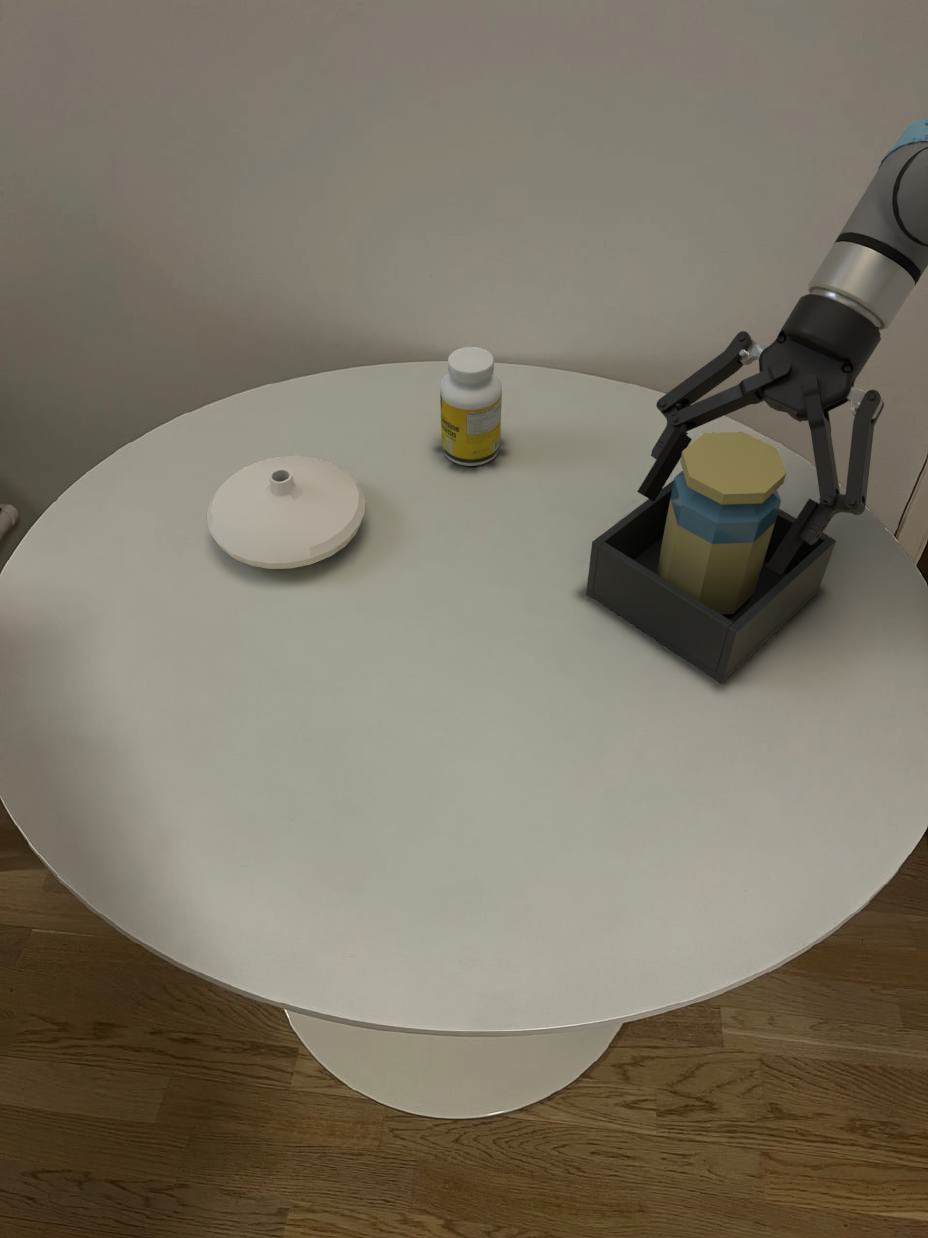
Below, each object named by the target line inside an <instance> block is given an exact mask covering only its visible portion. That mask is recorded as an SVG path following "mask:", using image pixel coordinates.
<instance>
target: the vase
mask: <svg viewBox="0 0 928 1238" xmlns="http://www.w3.org/2000/svg"><path fill="white" fill-rule="evenodd" d="M365 513H366V497H365V493H364V491H363V488H362V485H361V484H360V483H359V482H358V481H357V479H356V478H355V477H354V476H353V475H352V474H351V473H349V472H347V471H346V470H345V469H343V468H341V467H340V466H338V465H337V464H335V463H333V462H330V461H327V460H324V459H321V458H318V457H312V456H305V455H282V456H281V455H280V456H276V457H270V458H266V459H263V460H260V461H257V462H254V463H251V464H249V465H247V466H245V467H243V468H241V469H240V470H238V471H236V472H235V473H233V474H232V475H231V476H229V477H228V478H227V479H226V480H225V481H223V483H221V485H220V486H219V487H218V488H217V489H216V491H215V493H214V494H213V496H212V497H211V499H210V501H209V503H208V506H207V513H206V515H205V516H206V517H205V519H206V523H207V528H208V531H209V533H210V534H211V536H212V537H213V539H214V540H215V542H216V543H217V545H218V546H219V547H220V549H221V550H223V551H224V552H225V553H226V554H228V556H230V557H231V558H233V559H234V560H236V561H239V562H241V563H244V564H246V565H249V566H251V567H257V568H262V569H263V568H264V569H267V570H268V569H269V570H279V569H280V570H281V569H283V570H284V569H294V568H295V569H296V568H300V567H305V566H309V565H313V564H315V563H318V562H320V561H323V560H326V559H327V558H330V557H332V556H333V555H335V554H336V553H338V552H339V551H340V550H342V549H343V548H345V547H346V546H347V545H348V544H349V543H350V541H352V539H353V538H354V537H355V536H356V535H357V533H358V531H359V529H360V527H361V524H362V522H363V519H364V516H365Z"/></svg>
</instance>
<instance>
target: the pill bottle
mask: <svg viewBox="0 0 928 1238" xmlns="http://www.w3.org/2000/svg"><path fill="white" fill-rule="evenodd" d="M494 364H495V359H494V356H493V354H492V353H491V352H490V351H488V350H486V349H485V348H481V347H477V346H465V347H460V348H458V349H455V350H453V351H452V352H451V353H450V354H449V356H448V358H447V372H448V373H446V375H445V376H444V377H443V378H442V380H441V382H440V385H439V402H440V433H441V434H440V435H441V436H440V438H441V439H440V440H441V450H442V452H443V454H444V455H445V456H446V458H447V459H449V461H452V462H453V463H455V464H457V465H460V466H467V467H473V466H480V465H481V466H482V465H484V464H487V463H488V462H491V461H492V460H493V459H495V457H496V456H497V455H498V454H499V451H500V448H501V433H502V432H501V431H502V430H501V429H502V428H501V426H502V401H503V400H502V399H503V397H502V396H503V387H502V383H501V380H500V378H499V377H498V375H497V374H496V373H495V371H494V370H495V365H494Z"/></svg>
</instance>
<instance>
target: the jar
mask: <svg viewBox="0 0 928 1238" xmlns="http://www.w3.org/2000/svg"><path fill="white" fill-rule="evenodd" d="M679 462H680V464H681V469H682V470H681V471H680V472H679V473H678V474H676V476H674V478H673V480H674V482H673V487H672V493H671V498H670V503H669V509H668V514H667V519H666V525H665V530H664V535H663V541H662V546H661V551H660V557H659V562H658V567H657V571H658V576H660V577H662V578H663V579H665V580H666V581H668V582H670V583H671V584H673V585H674V586H676V587H678V588H679V589H681V590H682V591H684V592H686V593H687V594H689V595H690V596H692V597H694V598H695V599H697V600H698V601H700V602H702V603H703V604H705V605H706V606H708V607H710V608H711V609H713V610H714V611H716V612H718V613H719V614H734V613H735V612H736V611H737V610H738V609H739V608H740V607H741V606H742V605H743V604H744V603H745V602H746V601H747V600H748V599H749V598H750V597H751V596H752V595H753V594H754V592H755V589H756V585H757V582H758V578H759V575H760V572H761V568H762V565H763V562H764V558H765V555H766V551H767V548H768V545H769V541H770V538H771V534H772V531H773V528H774V524H775V521H776V518H777V514H778V511H779V509H780V507H781V504H782V499H781V497H780V493H779V491H778V489H780V488H781V487H782V486H783V485H784V483H785V479H786V476H787V471H786V468H785V466H784V463H783V461H782V459H781V456H780V454H779V451H778V449H777V447H775V446H773V445H771V444H769V443H767V442H765V441H763V440H760V439H759V438H756V437H754V436H752V435H750V434H748V433H745V432H744V431H730V432H729V431H728V432H704V433H702V434H701V435H700V436H699V437H697V438H696V439H695V440H694V441H693V442H692V443H689V445H688V447H687V448H685V449H684V450H683V451H682V455H681V458H680V460H679Z"/></svg>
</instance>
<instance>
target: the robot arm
mask: <svg viewBox="0 0 928 1238" xmlns="http://www.w3.org/2000/svg"><path fill="white" fill-rule="evenodd" d="M877 168H878V169H877V171H876V173H875V174H874V176H873V178H872V180H871V181H870V182H869V184H868V185H867V188H866V190H865V191H864V193H863V194H862V196H861V198H860V199H859V200H858V203H857V205H856V206H855V208H854V209H853V211H852V212H851V214H850V216H849V217H848V219H847V221H846V222H845V224H844V226H843V227H842V229H841V231H840V232H839V234H838V236H837V238H836V239H835V241H834V242H833V245H832V246H831V248H830V249H829V250H828V252H827V253H826V254H825V257H824V258H823V260H822V261H821V263H820V264H819V266H818V268H817V270H816V271H815V273H814V274H813V276H812V278H811V279H810V280H809V282H808V284H807V291H808V292H809V293H807V294H805V295H802V296H801V297H800V298H799V299H798V301H797V303H796V304H795V305H794V307H793V309H792V310H791V312H790V314H789V315H788V317H787V318H786V320H785V322H784V324H783V325H782V326H781V328H780V331H779V333H778V335H777V336H776V338H775V340H774V341H773V342H772V343H770V345H768V346H764V345H762V344H761V343H759V342H758V341H757V340H754V339H753V337H752V336H751V335H750V334H749V332H747V331H745V330H742V331H739V332H738V333H737V334H736V335H735V336H734V338H733V339H732V341H731V342H730V343H729V344H728V346H727V347H726V349H724V351H723V352H721V353H720V354H718V355H717V356H715V357H714V358H713V359H712V360H710V361H709V362H707V363H706V364H705V365H704V366H702V367H701V368H700V369H698V370H697V371H695V372H694V373H692V375H690V376H688V377H687V378H685V380H683V381H682V382H680V383H679V384H678V385H676V386H674V387H673V389H671V390H670V391H668V392H667V393H666V394H664V395H663V396H661V397H660V398H659V399H658V400H657V401H656V405H655V406H656V408H657V410H659V412H660V413H661V414H662V415H663V417H664V418H665V419H666V426H665V427H664V429H663V431H662V433H660V434H661V435H660V436H659V437H658V439H657V441H656V442H655V444H654V446H653V447H652V449H651V453H650V456H651V457H652V458H653V459H654V460H655V461H654V463H653V465H652V466H651V468H650V470H649V471H648V472H647V475H646V476H645V477H644V479H643V482H642V483H641V485H640V486H639V488H638V489H637V491H636V492H637V493H638V494H640V495H641V496H643V497H645V498H647V500H648V499H650V500H652V501H655V500H656V498H657V496H658V495H659V493H660V491H661V490H662V488H664V487H665V486H666V483H667V481H668V480H669V478H670V477H671V475H672V474H673V472H674V470H675V468H676V467H677V465H678V463H679V462H680V460H681V455H682V451H683V450H684V449H685V448H687V447H688V446H689V445H690V444H691V442H692V440H693V439H692V438H691V437H690V436H689V433H688V432H689V431H691V430H694V429H697V428H698V427H701V426H703V425H705V424H709V423H710V422H712V421H715V420H717V419H719V418H722V417H724V416H727V415H729V414H732V413H733V412H736V411H738V410H740V409H743V408H745V407H747V406H750V405H757V404H761V403H762V402H765V403H766V405H767V406H768V407H769V408H771V409H773V410H775V411H777V412H781V413H786V414H788V415H789V416H790V417H791V418H792V419H794V420H795V421H797V422H800V423H802V422H807V423H808V427H809V430H810V436H811V444H812V451H813V458H814V463H815V464H814V465H815V470H816V471H815V472H816V477H817V485H818V491H819V498H818V500H819V502H817V501H816V500H814V499H812V498H808V499H807V501H806V503H805V504H804V506H803V507H802V509H801V511H800V512H799V514H798V515H797V517H795V518H796V520H795V522H794V523H793V525H792V526H791V528H790V529H789V531H788V532H787V534H786V536H785V537H784V539H783V540H782V542H781V543H780V545H779V547H778V548H777V550H776V551H775V553H774V554H773V556H772V557H771V559H770V561H769V562H768V564H767V565H766V567H768V568H770V569H771V570H773V571H775V572H777V573H778V574H780V575H782V573H783V572H784V570H785V569H786V567H787V566H788V564H789V562H790V561H791V559H792V558H793V556H794V555H795V553H796V552H797V550H798V548H799V547H800V545H801V544H802V542H803V541H805V542H806V543H808V544H810V545H813V544H814V543H815V542H817V540H818V539H819V537H820V536H821V534H822V533H824V532H825V530H826V528H827V527H828V526H829V524H830V522H831V521H832V519H833V517H834V516H835V515H837V514H839V513H847V514H853V516H859V515H862V514H863V513H864V512H865V510H866V504H867V496H868V486H869V476H870V469H871V459H872V449H873V439H874V432H875V431H874V430H875V425H876V423H877V422H878V419H879V417H880V415H881V414H882V412H883V410H884V408H885V402H884V400H883V398H882V396H881V394H880V392H879V391H878V390H876V389H869V390H867V391H866V390H863V389H860V388H856V387H854V386H855V383H856V379H857V378H858V376H859V375H860V374H861V372H862V371H863V369H864V367H865V366H866V364H867V363H868V360H869V359H870V358H871V356H872V355H873V353H874V351H875V350H876V349H877V347H878V345H879V344H880V342H881V340H882V337H881V335H882V334H881V331H882V330H886V329H889V327H890V325H891V324H892V323H893V321H894V319H895V318H896V316H897V315H898V313H899V312H900V311H901V308H902V307H903V305H904V304H905V302H906V301H907V299H908V297H909V296H910V295H911V293H912V291H913V290H914V288H915V287H916V285H917V284H918V282H919V281H920V278H921V276H922V275H923V273H924V272H925V271H926V269H927V267H928V118H923V119H919V120H915V121H913V122H911V124H909V125H908V126H906V128H905V129H904V130H903V131H902V133H901V134H900V136H899V137H898V139H897V140H896V142H895V143H894V144H893V146H892V147H891V149H889V150H888V151H887V152H886V153H885V155H884V156H883V157H882V159H881V161H880V163H879V165H878V167H877ZM755 361H758V366H759V367H758V369H759V372H757V373H756V374H753V375H751V376H748V377H746V378H744V379H742V380H741V381H740V382H738V384H736V385H734V386H731V387H729V388H727V389H724V390H722V391H720V392H717V393H715V394H713V395H710V396H708V397H706V398H704V399H702V397H704V396H706V395H707V394H708V393H709V392H711V391H712V390H714V389H715V388H717V387H718V386H719V385H720V384H723V382H725V381H726V380H728V379H729V378H730V377H731V376H733V375H734V374H735V373H737V372H738V371H740V369H741V368H743V367H744V366H748V365H751V364H752V363H753V362H755ZM700 399H702V400H700ZM848 402H849V403H850V412H851V414H852V415H853V417H854V419H853V422H852V430H851V440H850V448H849V449H850V451H849V459H848V468H847V476H846V477H847V478H846V486H845V494H842V493H841V492H840V484H839V478H838V472H837V465H836V458H835V452H834V451H835V450H834V445H833V444H834V443H833V438H832V425H831V419H830V411H832V410H835V409H836V408H839V407H841V406H842V405H844V404H846V403H848Z"/></svg>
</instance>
